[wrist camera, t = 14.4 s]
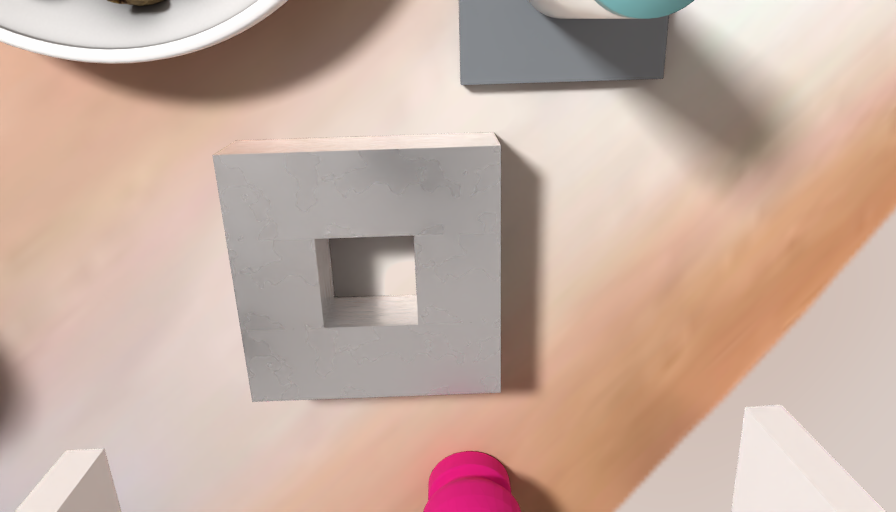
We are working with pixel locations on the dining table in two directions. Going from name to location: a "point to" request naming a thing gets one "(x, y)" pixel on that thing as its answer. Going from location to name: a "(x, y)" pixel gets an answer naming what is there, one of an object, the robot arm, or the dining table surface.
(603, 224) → the dining table surface
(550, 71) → the pad
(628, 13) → the plug
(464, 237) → the housing
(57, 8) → the bowl
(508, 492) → the pepper mill
